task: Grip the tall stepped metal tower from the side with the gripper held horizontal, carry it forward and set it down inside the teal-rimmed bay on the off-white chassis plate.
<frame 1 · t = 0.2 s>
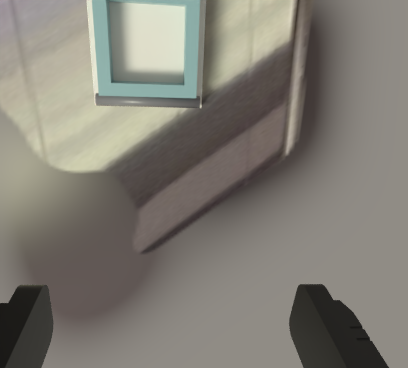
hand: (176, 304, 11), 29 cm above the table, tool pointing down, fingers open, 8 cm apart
chassis: (148, 44, 34), on the table
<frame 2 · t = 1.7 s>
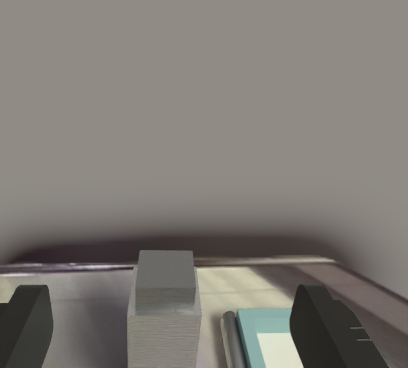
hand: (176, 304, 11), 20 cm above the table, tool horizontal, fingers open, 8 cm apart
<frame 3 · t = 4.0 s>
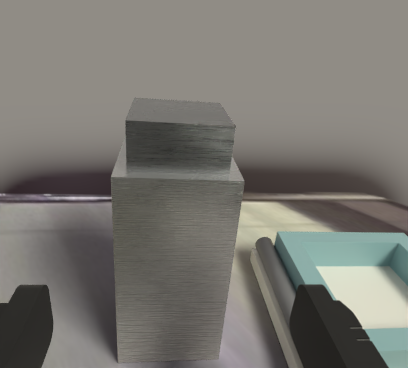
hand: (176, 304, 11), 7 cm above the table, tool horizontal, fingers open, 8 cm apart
stepped metal tower: (168, 321, 19), on the table
chassis: (365, 316, 21), on the table
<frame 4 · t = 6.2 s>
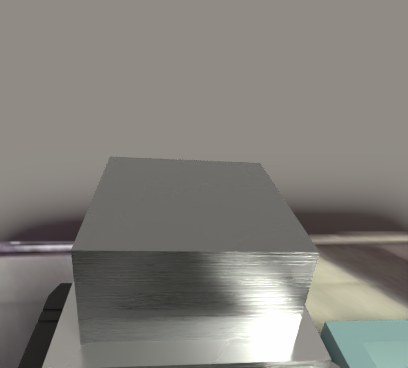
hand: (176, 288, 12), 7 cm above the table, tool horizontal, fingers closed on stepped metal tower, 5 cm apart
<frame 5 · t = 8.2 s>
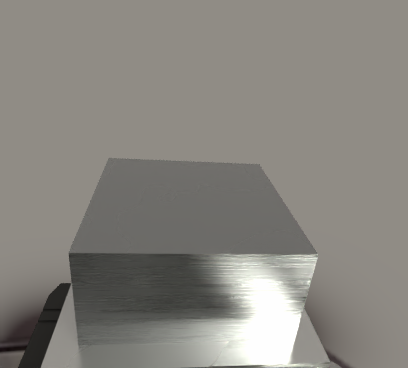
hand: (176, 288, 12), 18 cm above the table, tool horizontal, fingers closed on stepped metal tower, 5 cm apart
when the fingers open (9 cm above the table, at t = 10.4 s): stepped metal tower drops 1 cm, resting on chassis.
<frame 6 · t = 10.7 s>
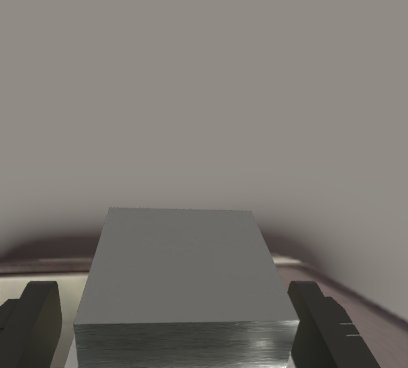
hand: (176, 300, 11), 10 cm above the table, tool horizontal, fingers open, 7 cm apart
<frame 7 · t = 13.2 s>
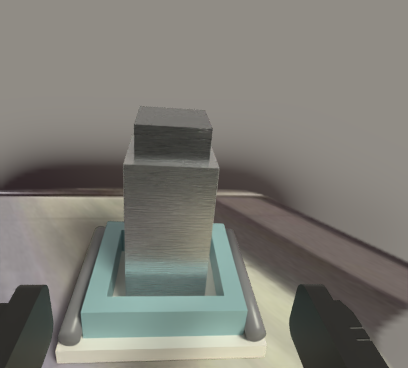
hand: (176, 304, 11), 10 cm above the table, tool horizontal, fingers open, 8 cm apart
stepped metal tower: (165, 281, 24), point 1 cm above the table, touching chassis
chassis: (165, 292, 25), on the table
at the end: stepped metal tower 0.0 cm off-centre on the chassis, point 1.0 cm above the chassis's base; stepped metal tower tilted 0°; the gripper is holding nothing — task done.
